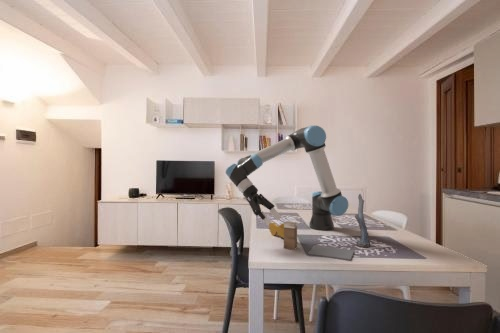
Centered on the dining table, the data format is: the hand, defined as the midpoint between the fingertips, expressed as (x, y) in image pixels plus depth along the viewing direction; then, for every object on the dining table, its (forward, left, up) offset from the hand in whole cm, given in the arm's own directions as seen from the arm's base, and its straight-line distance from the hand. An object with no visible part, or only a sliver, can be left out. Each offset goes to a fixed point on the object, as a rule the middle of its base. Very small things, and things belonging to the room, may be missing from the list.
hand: (274, 221), depth 136 cm
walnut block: (-1, +8, -12) cm, 14 cm away
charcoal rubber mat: (-2, +27, -12) cm, 29 cm away
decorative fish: (-15, -2, -12) cm, 19 cm away
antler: (-23, +38, -12) cm, 46 cm away
